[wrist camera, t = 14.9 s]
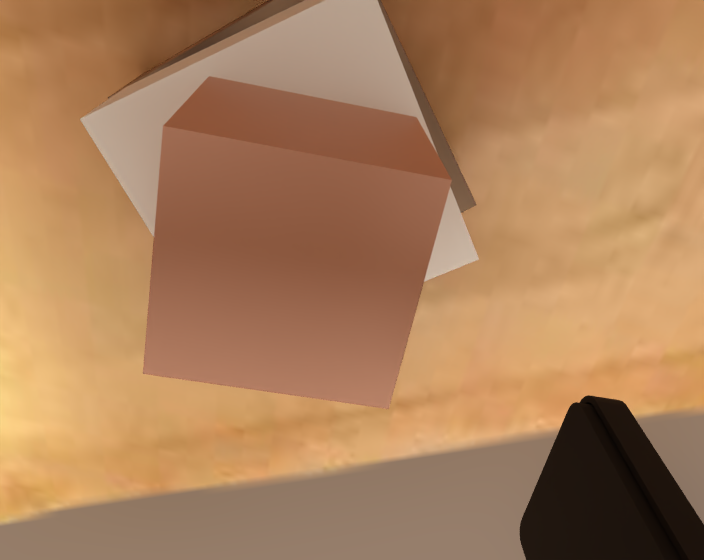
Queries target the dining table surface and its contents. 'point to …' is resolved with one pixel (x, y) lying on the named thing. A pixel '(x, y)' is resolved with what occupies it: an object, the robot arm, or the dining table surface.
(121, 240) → the dining table surface
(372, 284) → the terracotta cube
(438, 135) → the tower bottom
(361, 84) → the tower top
